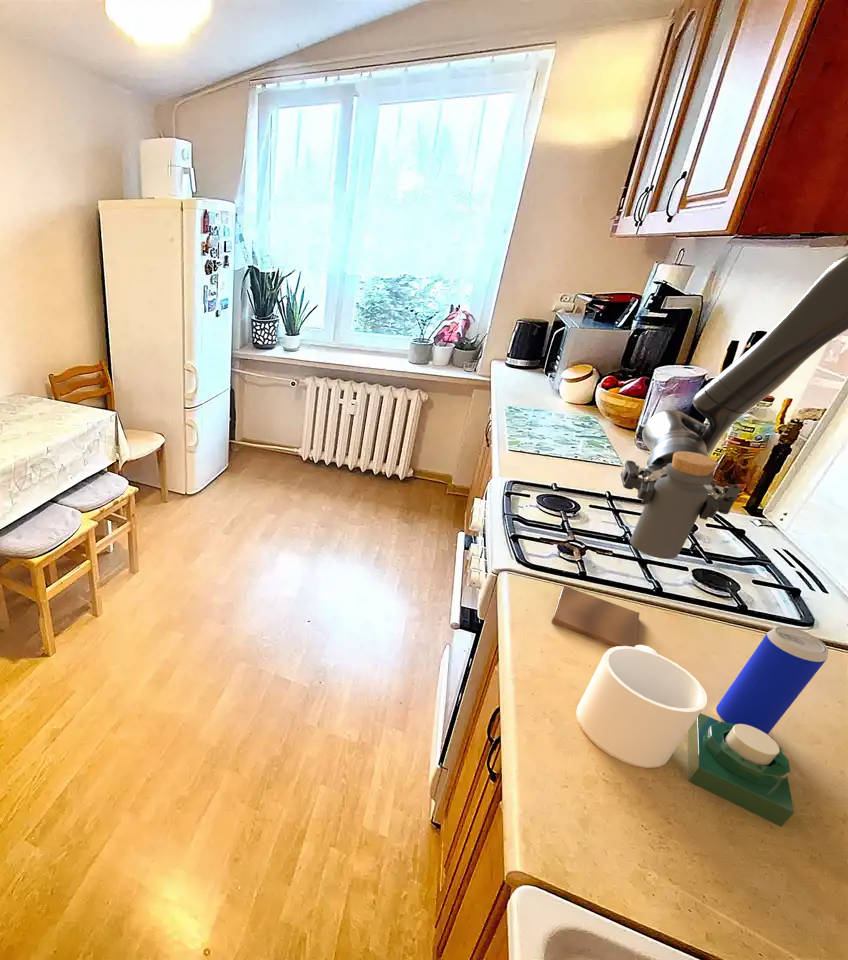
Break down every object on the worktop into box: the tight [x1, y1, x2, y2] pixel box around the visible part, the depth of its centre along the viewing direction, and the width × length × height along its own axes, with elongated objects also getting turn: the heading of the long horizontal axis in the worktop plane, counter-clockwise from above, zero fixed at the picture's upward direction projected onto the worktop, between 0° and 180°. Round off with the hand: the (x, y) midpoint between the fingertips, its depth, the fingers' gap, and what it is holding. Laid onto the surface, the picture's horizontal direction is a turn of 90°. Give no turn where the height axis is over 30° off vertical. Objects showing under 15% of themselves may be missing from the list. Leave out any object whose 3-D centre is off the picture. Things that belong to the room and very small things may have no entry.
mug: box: [575, 644, 708, 769], centre depth 66 cm, size 13×10×10 cm
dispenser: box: [687, 712, 795, 827], centre depth 62 cm, size 10×8×4 cm
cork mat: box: [551, 585, 640, 648], centre depth 86 cm, size 11×11×1 cm
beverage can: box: [715, 625, 829, 736], centre depth 66 cm, size 5×5×15 cm
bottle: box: [629, 452, 719, 560], centre depth 75 cm, size 6×6×15 cm
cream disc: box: [725, 724, 780, 766], centre depth 61 cm, size 4×4×2 cm
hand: (676, 505), depth 72 cm, fingers closed on bottle, 6 cm apart
